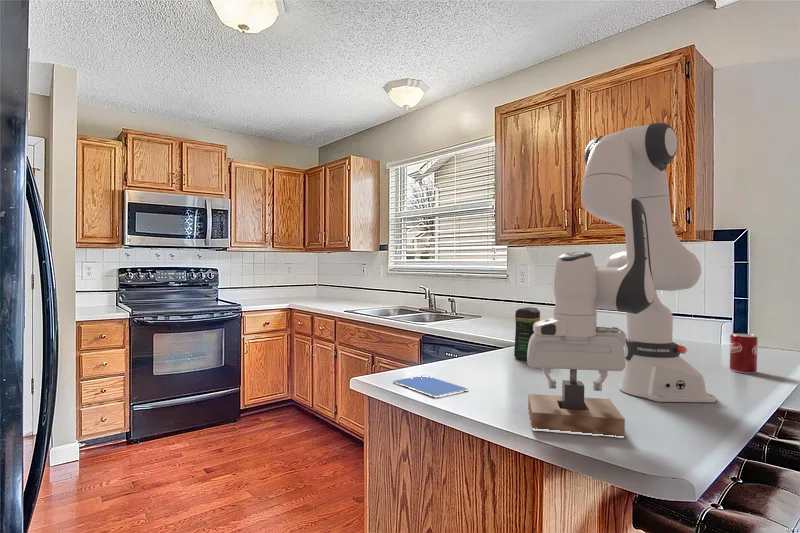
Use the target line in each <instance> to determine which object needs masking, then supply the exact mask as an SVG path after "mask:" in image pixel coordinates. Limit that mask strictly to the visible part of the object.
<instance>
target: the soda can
mask: <svg viewBox="0 0 800 533" xmlns="http://www.w3.org/2000/svg"><path fill="white" fill-rule="evenodd" d="M758 342H759V340H758V336H757V335H755V334H749V333H734V332H733V333H731V334H730V336H729V370H730V371H732V372H734V373H739V374H745V375H753V374H756V373H757V372H758Z"/></svg>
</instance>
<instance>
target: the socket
mask: <svg viewBox="0 0 800 533" xmlns="http://www.w3.org/2000/svg"><path fill="white" fill-rule="evenodd" d="M527 398H528V399H527V401H528V403H527V406H528V408H527V409H528V410H529V412H528V416H529V415H530V418H529V421H530V420H531V423H530V427H531V426H532V428H535V429H536V428H537V429H549V430H560V431H571V432H582V433H592V434H603V435H614V436H615V435H616V436H624V437H625V431H626V428H625V427H626V426H625V425H626V423H625V422H626V419H625V417H624V416H623V415H622V414H621V412H620V411H619V410H618V408H617V407H616V406H615V405H614V403H613V402H612V400H611V399H610V398H598V397H585V396H584V410H573V409H562V395H553V394H551V395H550V394H536V393H528V397H527ZM528 410H527V411H528Z"/></svg>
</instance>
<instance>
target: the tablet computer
mask: <svg viewBox="0 0 800 533" xmlns="http://www.w3.org/2000/svg"><path fill="white" fill-rule="evenodd" d="M420 376H421V377H418V376H414V377H413V376H412V377H407V378H403V379H402V378H401V379H396V380H393V381H392V383H393V382H396V383H398V384H403V385H405V386H408V387H411V388H414V389H416V390H418V391H422V392H424V393H427V394H430V395H432V396H440V395H444V394H449V393H454V392H460V391H465V390H468V391H469V388H467V387H463V386H461V385H457V384H454V383H451V382H448V381H444V380H441V379H437V378H435V377H432V378H430V377H431V376H429V377H428V378H427V377H422V376H423V375H420ZM411 378H413V379H411ZM421 378H422V379H421Z"/></svg>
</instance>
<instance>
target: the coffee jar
mask: <svg viewBox="0 0 800 533" xmlns="http://www.w3.org/2000/svg"><path fill="white" fill-rule="evenodd" d="M514 320H515V321H514V322H515V333H514V334H515V336H514V349H513V350H514V354H513V356H514V358H516V359H518V360H521V361H525V360H526V361H527V352H528V344H529V340H530V337H531V335H532V334H534V331H533V324H534V323H535V322H538V321H541V312H540V310H539V308H537V307H530V306H527V307H521V308H518V309H516V311H515V316H514Z"/></svg>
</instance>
